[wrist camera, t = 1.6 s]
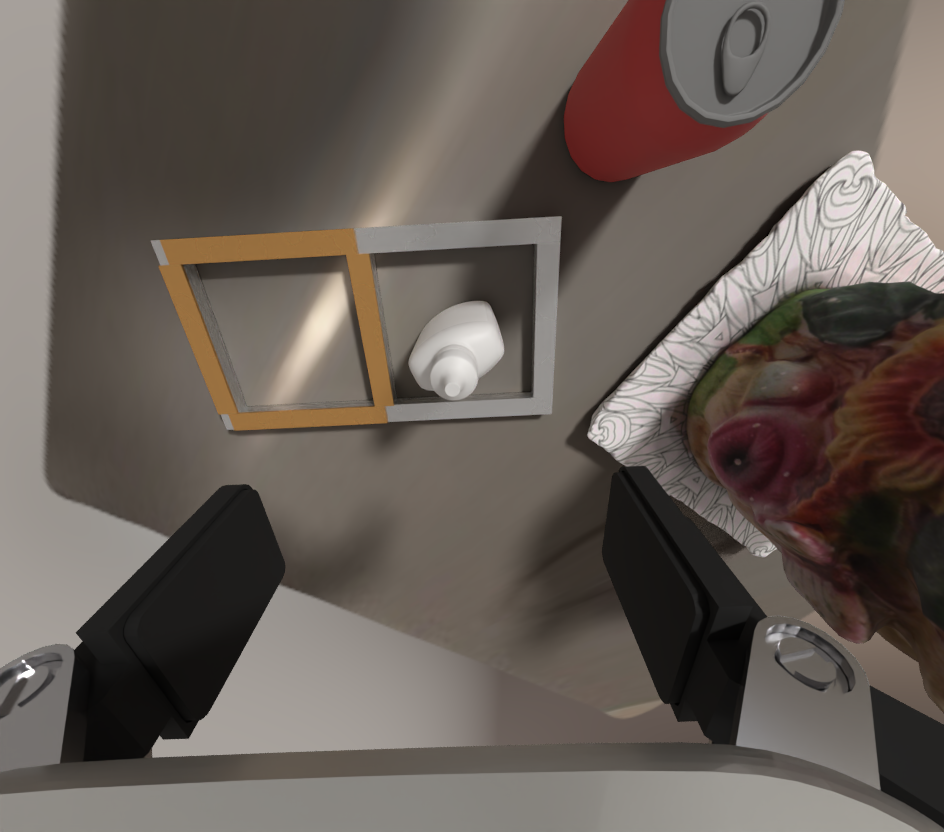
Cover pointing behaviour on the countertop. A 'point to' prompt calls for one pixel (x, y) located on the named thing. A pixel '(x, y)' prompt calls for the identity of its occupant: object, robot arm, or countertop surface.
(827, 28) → the beer can
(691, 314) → the cookie jar
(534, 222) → the rail
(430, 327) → the eye dropper bottle
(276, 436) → the countertop surface
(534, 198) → the countertop surface
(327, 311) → the countertop surface
